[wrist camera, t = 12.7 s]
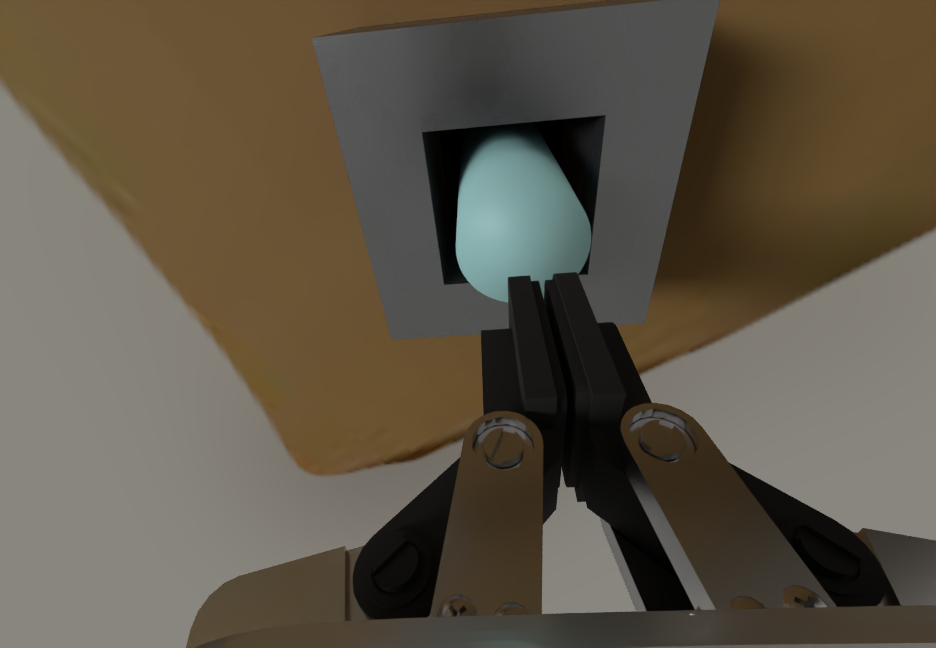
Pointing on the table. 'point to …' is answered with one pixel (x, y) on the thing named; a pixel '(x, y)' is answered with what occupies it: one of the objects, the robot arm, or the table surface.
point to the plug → (515, 211)
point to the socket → (508, 102)
